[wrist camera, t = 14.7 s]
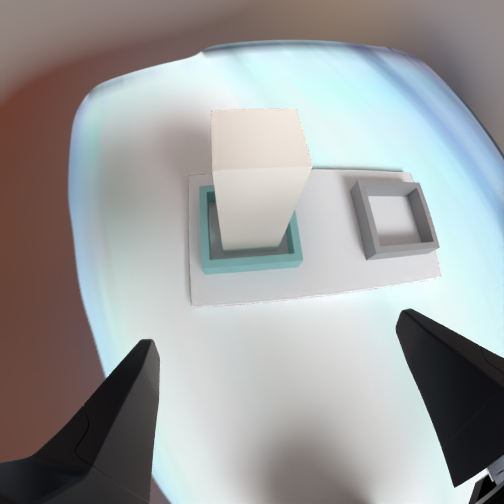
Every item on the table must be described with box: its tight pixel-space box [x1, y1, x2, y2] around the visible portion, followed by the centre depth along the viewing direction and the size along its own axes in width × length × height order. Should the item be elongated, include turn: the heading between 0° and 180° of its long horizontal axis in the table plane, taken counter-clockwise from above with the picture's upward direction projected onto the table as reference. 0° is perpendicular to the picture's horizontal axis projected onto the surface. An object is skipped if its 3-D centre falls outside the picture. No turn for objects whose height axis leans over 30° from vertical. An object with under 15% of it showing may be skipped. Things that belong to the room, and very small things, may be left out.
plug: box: [211, 109, 312, 255], centre depth 18 cm, size 5×4×12 cm
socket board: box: [189, 169, 441, 308], centre depth 24 cm, size 24×12×3 cm, turn 96°
